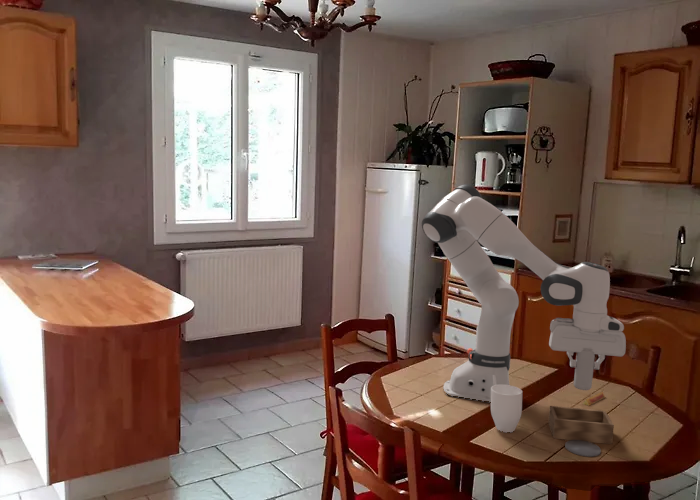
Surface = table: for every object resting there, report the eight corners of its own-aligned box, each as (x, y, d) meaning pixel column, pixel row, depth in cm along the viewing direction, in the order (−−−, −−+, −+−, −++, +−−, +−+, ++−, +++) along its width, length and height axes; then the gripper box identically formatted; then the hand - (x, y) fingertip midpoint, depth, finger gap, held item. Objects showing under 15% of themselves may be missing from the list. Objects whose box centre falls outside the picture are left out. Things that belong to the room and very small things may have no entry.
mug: (520, 437, 176) (522, 396, 175) (488, 433, 179) (489, 392, 177) (521, 421, 187) (523, 382, 186) (491, 418, 190) (492, 379, 188)
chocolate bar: (581, 405, 204) (582, 398, 204) (598, 396, 212) (598, 390, 212) (589, 407, 202) (589, 400, 202) (605, 398, 210) (606, 392, 210)
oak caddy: (553, 438, 176) (555, 419, 176) (548, 423, 187) (549, 405, 186) (612, 444, 174) (613, 425, 173) (603, 428, 184) (605, 410, 183)
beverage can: (592, 391, 176) (596, 350, 174) (574, 389, 177) (578, 348, 175) (589, 386, 180) (594, 345, 179) (572, 384, 181) (576, 343, 180)
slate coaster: (568, 454, 166) (568, 452, 166) (562, 440, 175) (562, 438, 175) (603, 458, 165) (604, 456, 165) (596, 443, 174) (596, 441, 173)
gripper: (552, 319, 175) (548, 367, 176) (630, 326, 171) (624, 374, 173) (549, 314, 181) (544, 360, 183) (623, 320, 178) (618, 367, 179)
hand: (584, 367), depth 178 cm, fingers closed on beverage can, 5 cm apart
